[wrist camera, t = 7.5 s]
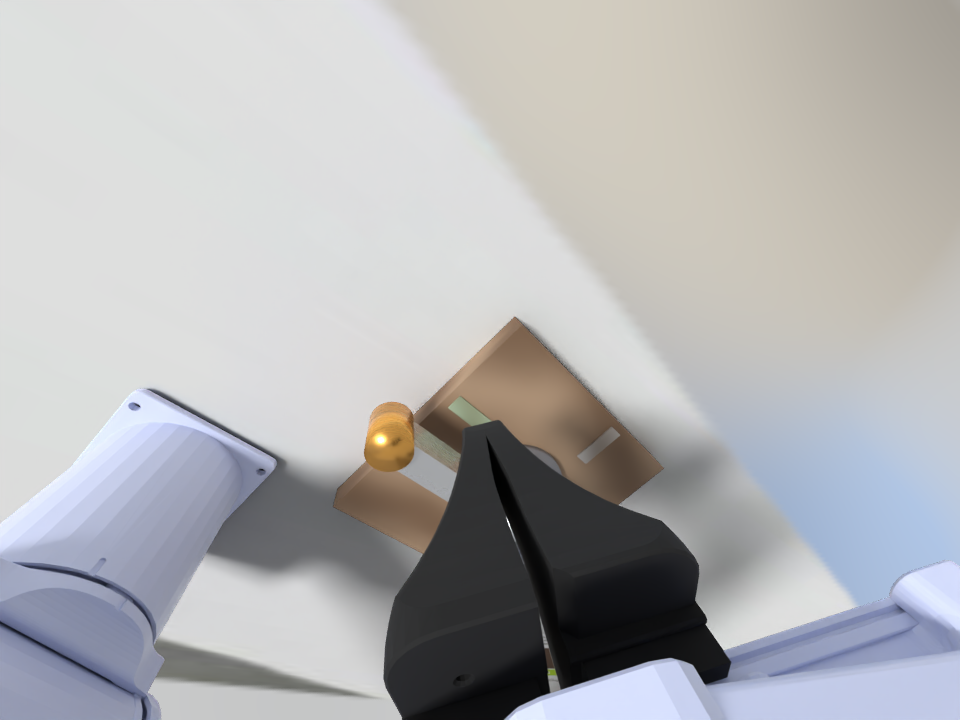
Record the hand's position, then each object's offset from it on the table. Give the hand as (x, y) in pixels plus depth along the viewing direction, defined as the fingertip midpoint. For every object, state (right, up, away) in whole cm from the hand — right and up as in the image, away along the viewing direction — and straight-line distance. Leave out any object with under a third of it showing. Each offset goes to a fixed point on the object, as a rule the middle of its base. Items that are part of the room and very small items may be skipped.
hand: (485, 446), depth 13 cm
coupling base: (+2, -5, +13) cm, 14 cm away
